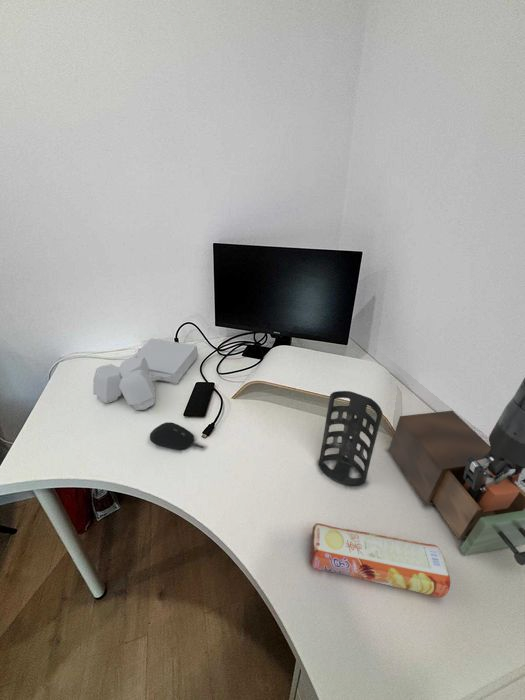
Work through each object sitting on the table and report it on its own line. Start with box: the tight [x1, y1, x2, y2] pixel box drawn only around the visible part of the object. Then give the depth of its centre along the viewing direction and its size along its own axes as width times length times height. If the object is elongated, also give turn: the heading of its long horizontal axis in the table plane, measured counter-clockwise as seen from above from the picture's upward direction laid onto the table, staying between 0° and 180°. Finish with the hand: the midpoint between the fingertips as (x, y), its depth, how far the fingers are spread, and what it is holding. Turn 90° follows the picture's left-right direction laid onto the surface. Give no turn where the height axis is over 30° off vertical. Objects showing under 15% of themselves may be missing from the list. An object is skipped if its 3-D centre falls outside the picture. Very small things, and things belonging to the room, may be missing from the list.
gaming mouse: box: [149, 421, 204, 451], centre depth 74 cm, size 6×15×4 cm, turn 72°
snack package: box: [309, 522, 451, 599], centre depth 49 cm, size 21×7×7 cm, turn 78°
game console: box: [92, 338, 199, 411], centre depth 95 cm, size 20×32×13 cm, turn 164°
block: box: [463, 468, 520, 512], centre depth 53 cm, size 5×5×5 cm
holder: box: [318, 390, 384, 487], centre depth 64 cm, size 11×8×20 cm
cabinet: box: [388, 410, 491, 507], centre depth 65 cm, size 15×14×12 cm
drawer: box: [431, 469, 525, 566], centre depth 54 cm, size 18×12×10 cm
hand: (485, 496), depth 54 cm, fingers closed on block, 5 cm apart
